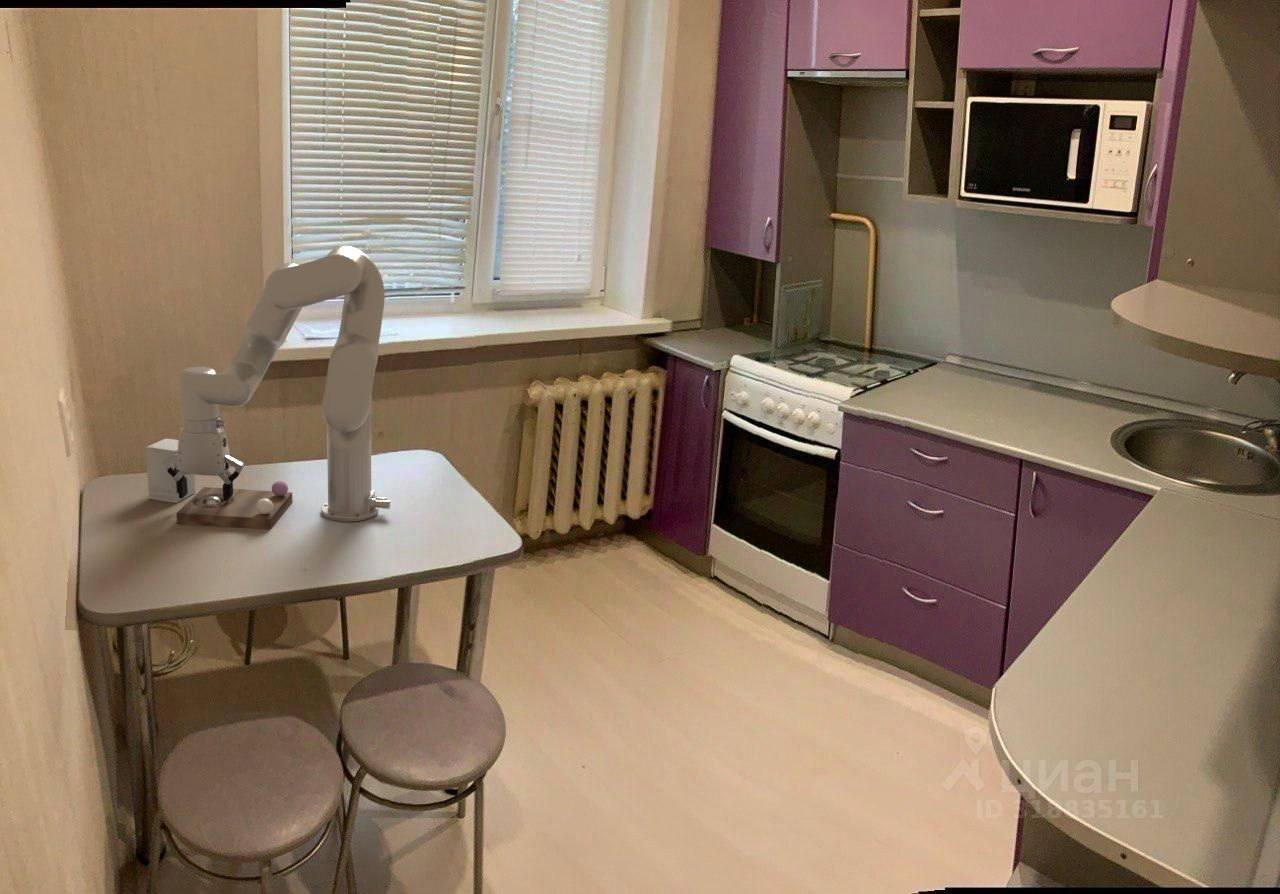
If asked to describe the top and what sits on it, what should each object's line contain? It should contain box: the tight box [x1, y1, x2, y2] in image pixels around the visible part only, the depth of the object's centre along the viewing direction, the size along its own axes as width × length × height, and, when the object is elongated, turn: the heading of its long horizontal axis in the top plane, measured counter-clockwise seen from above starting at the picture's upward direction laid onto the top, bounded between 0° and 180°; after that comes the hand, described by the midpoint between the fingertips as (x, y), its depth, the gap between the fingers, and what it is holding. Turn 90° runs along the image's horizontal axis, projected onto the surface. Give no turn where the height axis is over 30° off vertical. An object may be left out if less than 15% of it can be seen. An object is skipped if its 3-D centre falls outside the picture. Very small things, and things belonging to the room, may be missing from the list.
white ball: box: [256, 498, 273, 514], centre depth 226 cm, size 4×4×4 cm
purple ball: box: [271, 480, 289, 496], centre depth 236 cm, size 4×4×4 cm
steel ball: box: [205, 496, 221, 505], centre depth 231 cm, size 4×4×4 cm
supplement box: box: [145, 438, 196, 504], centre depth 236 cm, size 7×7×13 cm
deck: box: [176, 486, 293, 530], centre depth 232 cm, size 20×16×2 cm
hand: (205, 497), depth 231 cm, fingers open, 9 cm apart
